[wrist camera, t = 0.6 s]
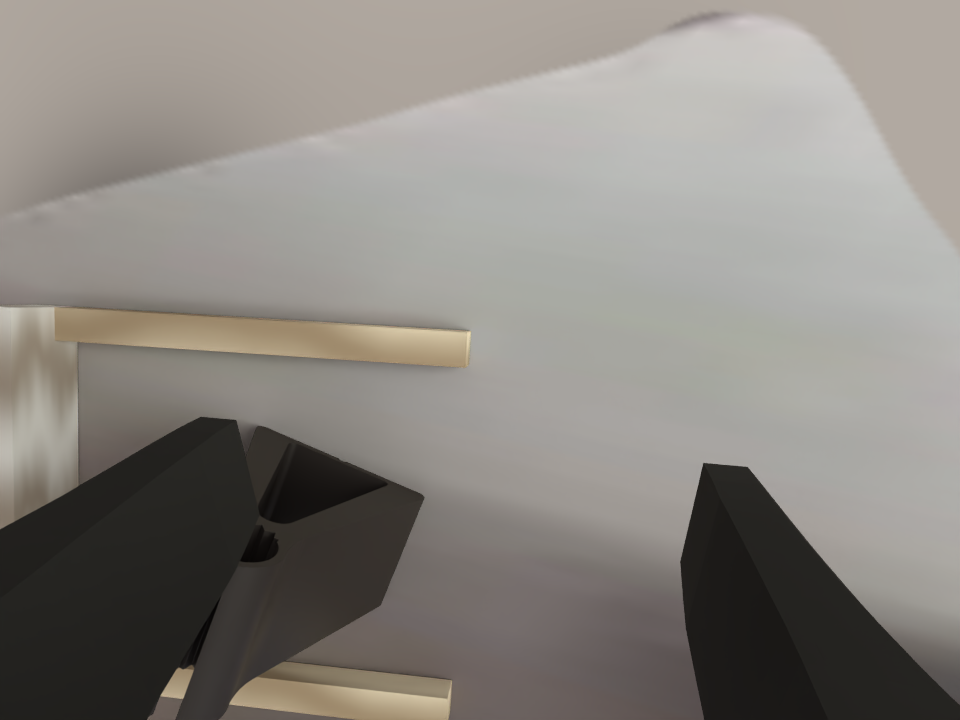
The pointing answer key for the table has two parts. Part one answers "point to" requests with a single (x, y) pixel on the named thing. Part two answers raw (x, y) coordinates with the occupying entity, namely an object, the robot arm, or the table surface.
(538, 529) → the table surface
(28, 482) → the bar
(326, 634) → the phone stand
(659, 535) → the table surface
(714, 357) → the table surface
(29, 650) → the robot arm
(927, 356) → the table surface
